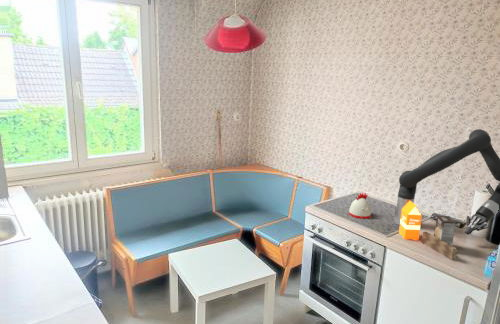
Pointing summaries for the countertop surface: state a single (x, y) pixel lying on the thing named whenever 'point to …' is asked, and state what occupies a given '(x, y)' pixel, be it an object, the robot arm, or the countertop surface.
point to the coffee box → (445, 229)
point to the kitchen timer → (360, 207)
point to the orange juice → (410, 221)
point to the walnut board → (439, 245)
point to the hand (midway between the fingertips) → (466, 233)
